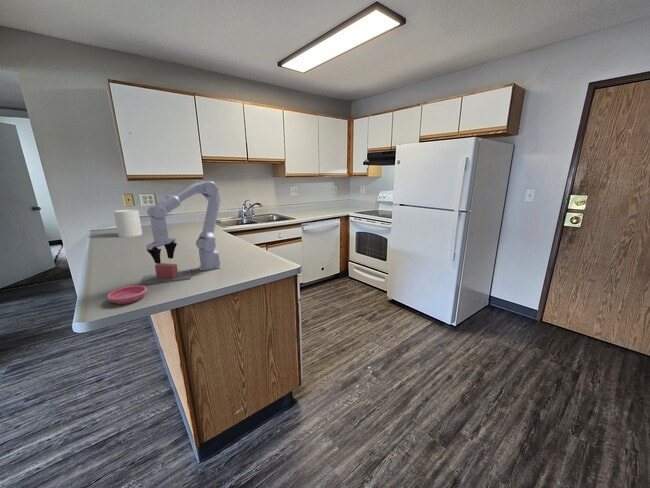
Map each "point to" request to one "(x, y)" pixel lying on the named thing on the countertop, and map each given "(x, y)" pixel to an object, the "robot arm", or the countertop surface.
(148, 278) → the mat
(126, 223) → the canister
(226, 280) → the countertop surface
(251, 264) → the countertop surface
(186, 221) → the countertop surface
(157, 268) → the box
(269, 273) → the countertop surface
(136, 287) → the saucer
